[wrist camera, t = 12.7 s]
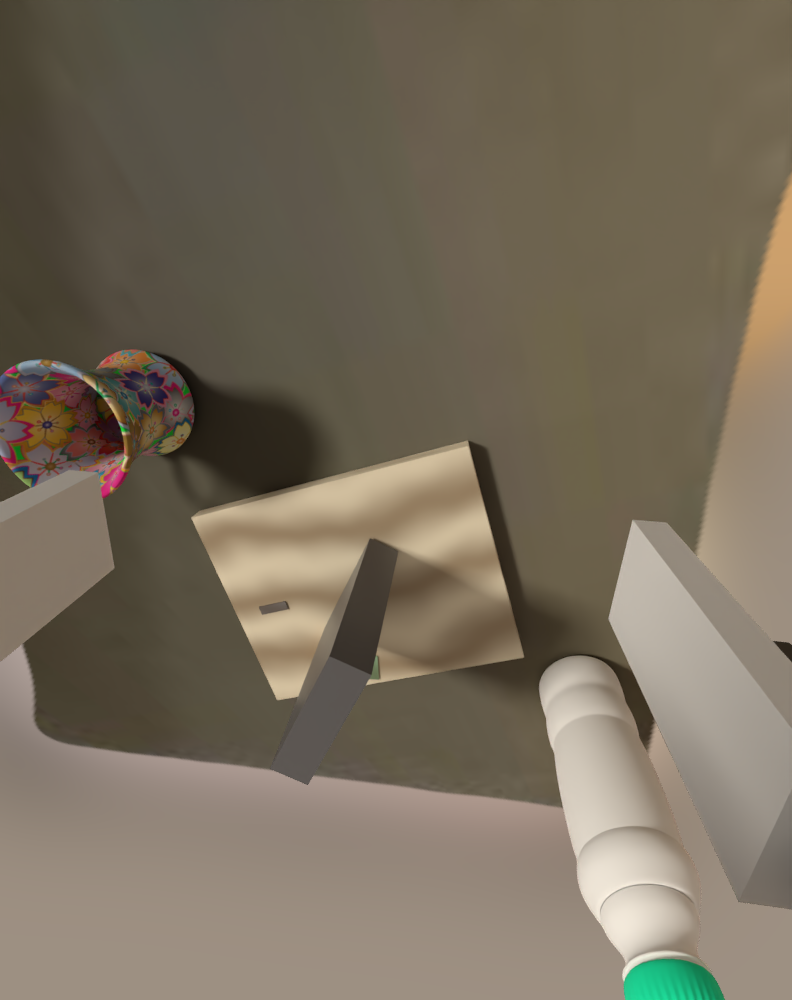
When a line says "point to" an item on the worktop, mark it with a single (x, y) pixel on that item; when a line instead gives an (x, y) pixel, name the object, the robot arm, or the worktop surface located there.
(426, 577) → the beige flat board
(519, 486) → the worktop surface
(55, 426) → the mug
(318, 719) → the gray square slab
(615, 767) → the water bottle
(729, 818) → the robot arm
